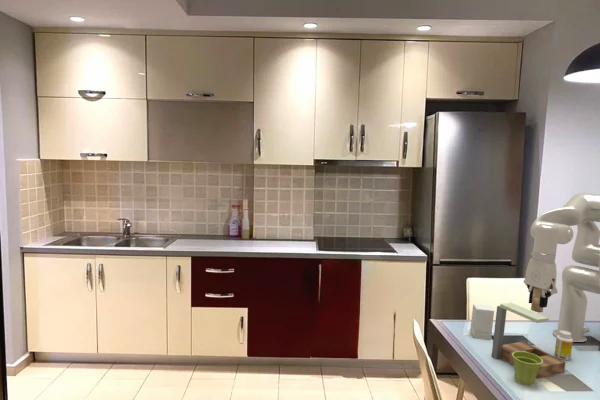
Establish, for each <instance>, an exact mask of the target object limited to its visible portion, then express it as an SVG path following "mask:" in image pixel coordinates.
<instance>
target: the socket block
mask: <svg viewBox="0 0 600 400" xmlns="http://www.w3.org/2000/svg"><path fill="white" fill-rule="evenodd" d="M516 351H523V352H529V353H532V354H535V355H537V356H539V357H540V358H541V359H542V360H543V363H542V364H541V366H540V367H539V370H538V373H537V376H536V379H541V378H546V377H551V376H556V375H560V374H564V373H565V371H566V370H565V368H566V363H567V362H566V361H565V360H561V359H559V358H557V357H555V355H553V354H550V353H547V352H546V351H545V350H542V349H540V348H538V347H536V346H533V345H532V344H529V343H527V342H525V341H518V342H514V343H513V342H512V343H506V344H503V346H502V352H501V358H500V359H501V360H503V361H505V362H507V363H509V364H510V365H512V366H514V359H513V356H512V353H513V352H516Z"/></svg>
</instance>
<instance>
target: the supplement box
mask: <svg viewBox="0 0 600 400" xmlns="http://www.w3.org/2000/svg"><path fill="white" fill-rule="evenodd" d="M494 313H495V310H494V309H493V308H492V306H491V305H489V304H479V303H473V304H472V312H471V321H470V322H471V323H470V334H471V335H472V337H473V338H476V339H481V340H483V339H484V340H490V341H491V340H492V334H493V324H494V315H495V314H494Z"/></svg>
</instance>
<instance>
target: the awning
mask: <svg viewBox="0 0 600 400" xmlns="http://www.w3.org/2000/svg"><path fill="white" fill-rule="evenodd" d="M507 311H508V312H511V313H513V314H515V315H518V316H520V317H522V318H524V319H527V320H529V321H531V322H534V323H536V324H539V323H546V322H549V319H550V318H549V317H546V316H544V315H543V314H540V313H538V312H535V311H532V310H531V309H527V308H524V307H523V306H520V305H519V304H518V305H517V304H515V303H512V302H505V303H500V304H499V305H497V306H496V311H495V312H496V315H495V321H494V332H493V340H492V347H491V348H492V349H491V357H492V358H494V359H495V360H498V359H501V352H502V346H503V345H504V336H505V328H506V319H507Z"/></svg>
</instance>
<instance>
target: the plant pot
mask: <svg viewBox="0 0 600 400" xmlns="http://www.w3.org/2000/svg"><path fill="white" fill-rule="evenodd" d="M512 356H513V359H514V365H513V366H514V367H513V368H514V369H513V370H514V380H515V381H516V382H518V383H519V384H521V385H523V386H532V385H534V384H535V383H536V379H537V378H536V376H537V373H538V370H539V367H540V366H541V364H542V363H543V360H542V359H541V358H540V357H539V356H537V355H535V354H532V353H529V352H523V351H516V352H513V353H512Z"/></svg>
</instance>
